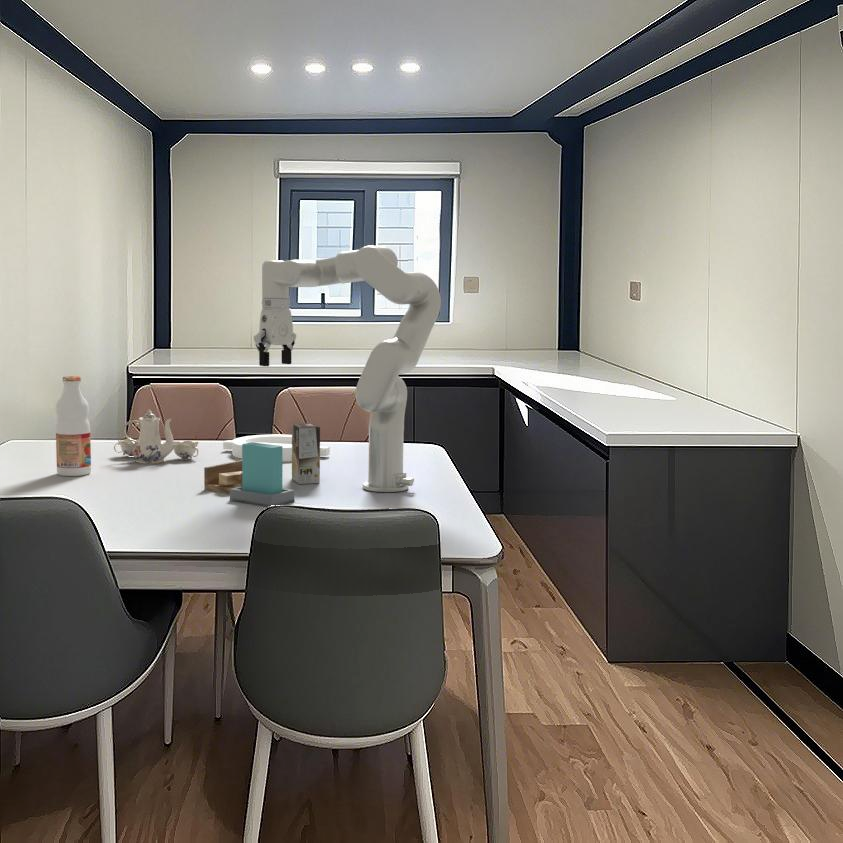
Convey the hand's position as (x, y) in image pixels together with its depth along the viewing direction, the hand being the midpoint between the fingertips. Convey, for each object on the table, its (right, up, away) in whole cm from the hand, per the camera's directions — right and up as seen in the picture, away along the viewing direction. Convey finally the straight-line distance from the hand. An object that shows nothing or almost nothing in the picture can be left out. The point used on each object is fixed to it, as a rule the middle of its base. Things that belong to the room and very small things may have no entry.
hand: (275, 364), depth 302 cm
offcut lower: (-9, -35, -16) cm, 40 cm away
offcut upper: (-9, -33, -17) cm, 38 cm away
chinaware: (-42, -28, +28) cm, 58 cm away
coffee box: (+9, -33, -1) cm, 34 cm away
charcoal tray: (+1, -37, -29) cm, 47 cm away
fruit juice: (-58, -31, +3) cm, 66 cm away
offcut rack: (-7, -34, -13) cm, 37 cm away
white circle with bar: (-6, -27, +43) cm, 51 cm away
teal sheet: (+1, -36, -29) cm, 46 cm away
